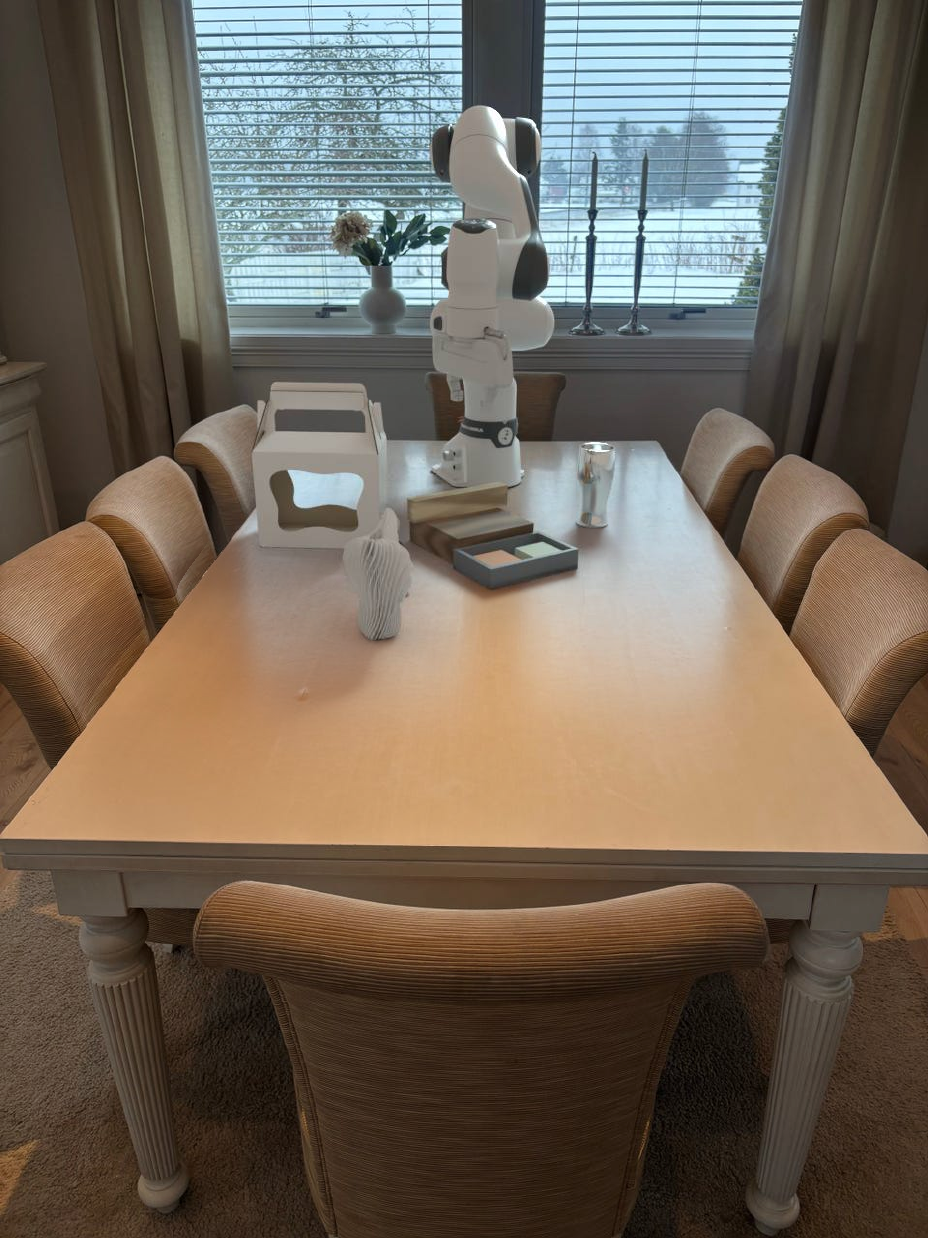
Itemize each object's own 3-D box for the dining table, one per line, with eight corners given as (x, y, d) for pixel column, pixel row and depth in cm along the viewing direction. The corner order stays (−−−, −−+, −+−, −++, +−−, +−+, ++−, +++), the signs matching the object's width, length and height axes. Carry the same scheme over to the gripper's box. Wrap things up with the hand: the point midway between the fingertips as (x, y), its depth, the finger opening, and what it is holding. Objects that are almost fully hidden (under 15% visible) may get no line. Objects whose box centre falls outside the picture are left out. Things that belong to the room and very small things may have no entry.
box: (453, 568, 157) (453, 549, 156) (538, 549, 166) (538, 530, 165) (490, 589, 149) (491, 569, 147) (577, 568, 158) (578, 548, 156)
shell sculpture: (365, 652, 128) (360, 528, 120) (343, 629, 134) (338, 510, 127) (419, 641, 131) (418, 519, 124) (396, 619, 138) (393, 502, 131)
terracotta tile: (492, 567, 150) (492, 578, 151) (522, 560, 153) (522, 571, 154) (472, 556, 155) (472, 567, 156) (501, 549, 158) (501, 560, 159)
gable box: (258, 547, 166) (244, 388, 154) (273, 524, 178) (262, 374, 166) (382, 550, 165) (377, 390, 154) (389, 526, 177) (386, 376, 166)
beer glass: (609, 518, 183) (615, 442, 177) (610, 529, 177) (617, 451, 171) (573, 516, 184) (578, 441, 177) (574, 528, 177) (578, 450, 171)
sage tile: (536, 558, 154) (536, 569, 155) (564, 551, 157) (564, 562, 158) (514, 547, 159) (514, 558, 159) (542, 541, 162) (542, 552, 162)
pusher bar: (407, 519, 165) (407, 498, 163) (499, 502, 175) (500, 481, 173) (414, 523, 163) (414, 501, 161) (507, 505, 173) (507, 484, 171)
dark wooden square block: (409, 540, 170) (409, 513, 168) (481, 525, 178) (482, 500, 176) (457, 566, 158) (457, 539, 156) (532, 549, 166) (533, 523, 164)
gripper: (524, 330, 151) (520, 415, 157) (456, 315, 166) (455, 393, 172) (491, 333, 148) (489, 420, 154) (425, 317, 163) (426, 396, 169)
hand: (471, 405), depth 163 cm, fingers open, 8 cm apart
